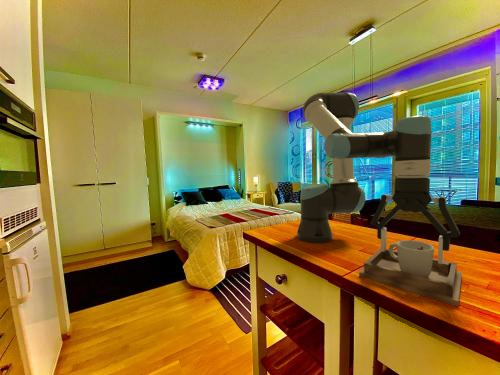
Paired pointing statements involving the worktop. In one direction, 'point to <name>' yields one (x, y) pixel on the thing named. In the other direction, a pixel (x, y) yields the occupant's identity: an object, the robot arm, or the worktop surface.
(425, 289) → the square wooden tray
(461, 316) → the worktop surface
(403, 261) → the cup
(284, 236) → the worktop surface
